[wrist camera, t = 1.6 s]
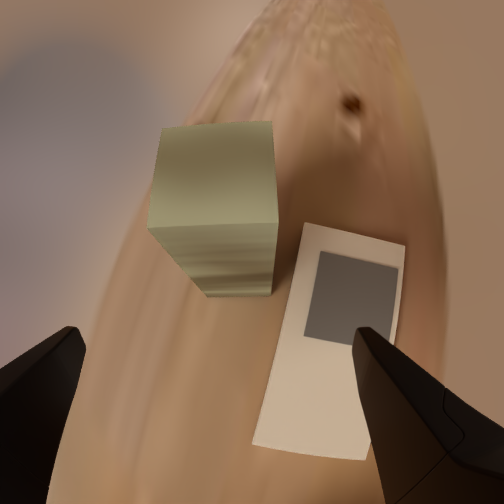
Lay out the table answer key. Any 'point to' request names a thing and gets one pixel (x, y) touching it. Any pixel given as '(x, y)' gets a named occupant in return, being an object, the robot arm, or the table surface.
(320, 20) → the table surface
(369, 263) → the baseplate
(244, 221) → the post
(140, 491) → the table surface
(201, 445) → the table surface
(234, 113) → the table surface
